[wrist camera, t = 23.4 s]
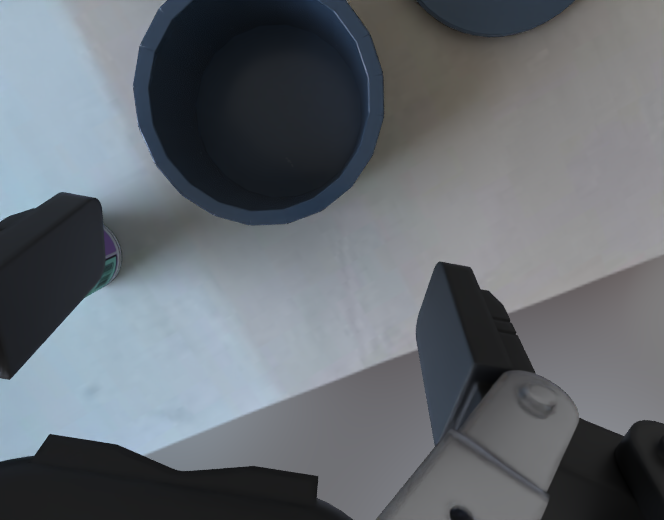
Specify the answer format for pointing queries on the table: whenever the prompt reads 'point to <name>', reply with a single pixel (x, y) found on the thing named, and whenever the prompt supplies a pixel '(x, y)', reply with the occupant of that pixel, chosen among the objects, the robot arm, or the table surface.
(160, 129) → the tin
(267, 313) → the table surface
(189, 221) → the table surface
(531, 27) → the lid
